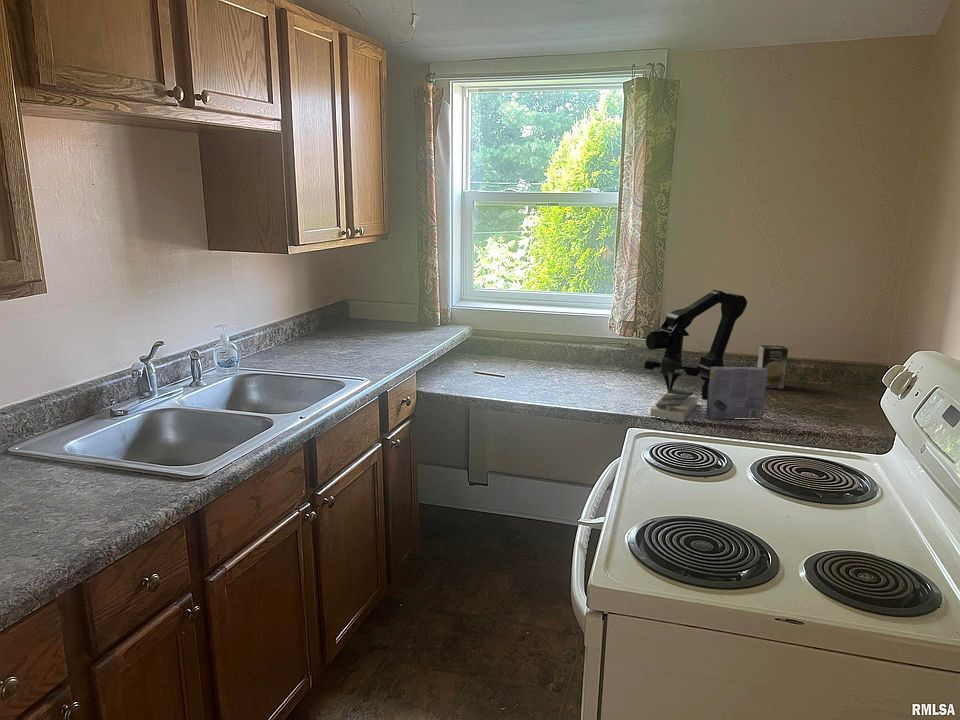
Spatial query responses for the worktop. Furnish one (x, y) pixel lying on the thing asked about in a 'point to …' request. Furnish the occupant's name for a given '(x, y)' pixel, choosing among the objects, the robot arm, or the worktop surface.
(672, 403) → the plate
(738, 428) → the worktop surface
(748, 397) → the cake pan box
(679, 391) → the block
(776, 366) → the coffee box
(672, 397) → the block
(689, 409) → the switch panel
